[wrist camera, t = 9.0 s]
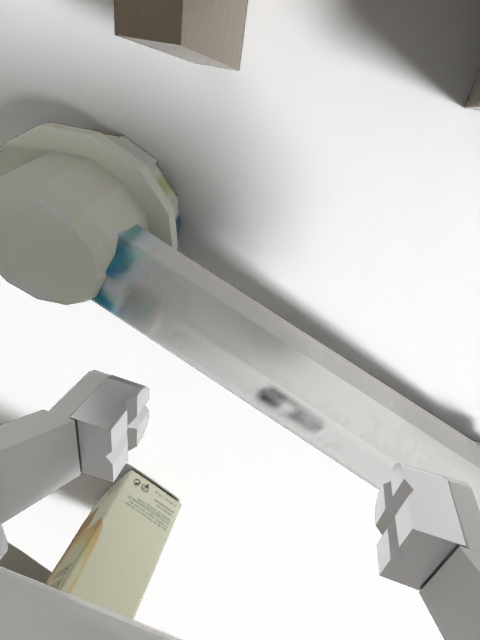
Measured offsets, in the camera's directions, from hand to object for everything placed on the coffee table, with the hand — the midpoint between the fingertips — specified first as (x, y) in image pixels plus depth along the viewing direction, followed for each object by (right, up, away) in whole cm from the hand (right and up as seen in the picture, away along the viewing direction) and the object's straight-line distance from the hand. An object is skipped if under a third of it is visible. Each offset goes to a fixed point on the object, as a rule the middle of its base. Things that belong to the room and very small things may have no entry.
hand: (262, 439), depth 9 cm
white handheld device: (+2, +2, +7) cm, 8 cm away
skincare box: (-8, -10, +17) cm, 21 cm away
